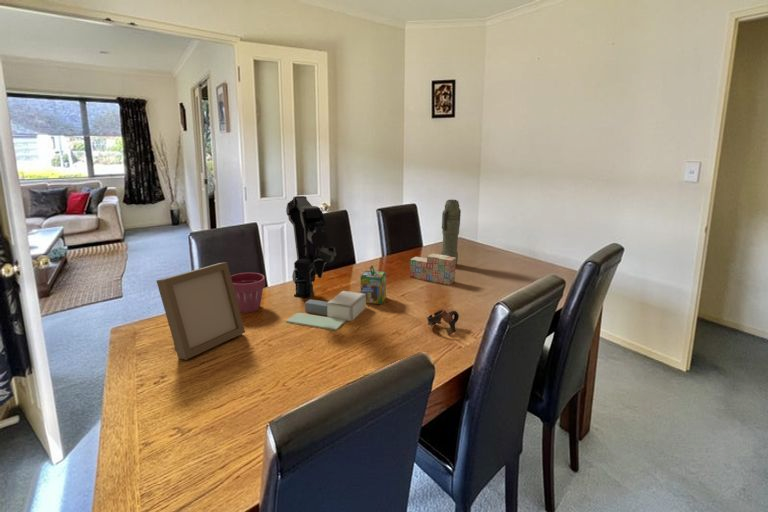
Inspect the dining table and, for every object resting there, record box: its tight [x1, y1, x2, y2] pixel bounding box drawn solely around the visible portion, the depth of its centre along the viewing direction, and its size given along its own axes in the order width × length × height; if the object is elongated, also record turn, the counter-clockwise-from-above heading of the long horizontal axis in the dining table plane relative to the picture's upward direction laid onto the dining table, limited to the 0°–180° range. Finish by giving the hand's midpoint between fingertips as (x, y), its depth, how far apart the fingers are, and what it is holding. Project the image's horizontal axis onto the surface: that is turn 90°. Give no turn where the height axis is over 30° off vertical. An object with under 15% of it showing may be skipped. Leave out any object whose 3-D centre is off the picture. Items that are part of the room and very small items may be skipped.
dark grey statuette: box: [440, 199, 462, 267], centre depth 221 cm, size 9×12×35 cm
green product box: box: [359, 264, 387, 305], centre depth 173 cm, size 9×9×15 cm
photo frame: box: [156, 261, 246, 360], centre depth 134 cm, size 15×22×25 cm
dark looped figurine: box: [426, 309, 460, 336], centre depth 149 cm, size 12×10×8 cm
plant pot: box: [231, 272, 266, 314], centre depth 163 cm, size 14×14×13 cm
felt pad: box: [286, 312, 347, 331], centre depth 153 cm, size 20×8×1 cm, turn 71°
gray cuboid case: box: [326, 290, 367, 322], centre depth 162 cm, size 10×14×6 cm
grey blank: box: [304, 298, 329, 316], centre depth 161 cm, size 16×4×4 cm, turn 70°
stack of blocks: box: [409, 253, 457, 286], centre depth 201 cm, size 21×6×12 cm, turn 58°
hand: (314, 281), depth 160 cm, fingers open, 9 cm apart
